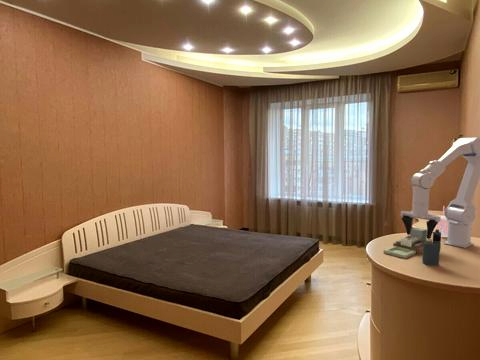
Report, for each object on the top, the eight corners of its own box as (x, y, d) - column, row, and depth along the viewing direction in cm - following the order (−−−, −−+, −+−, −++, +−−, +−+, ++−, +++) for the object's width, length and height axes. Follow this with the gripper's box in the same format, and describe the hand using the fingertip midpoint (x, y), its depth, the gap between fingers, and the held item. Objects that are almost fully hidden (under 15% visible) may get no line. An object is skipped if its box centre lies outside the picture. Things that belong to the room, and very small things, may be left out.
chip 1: (405, 243, 129) (405, 236, 129) (416, 245, 126) (416, 239, 126) (400, 244, 126) (401, 238, 126) (411, 247, 123) (411, 240, 123)
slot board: (409, 241, 138) (410, 235, 137) (434, 247, 130) (434, 239, 130) (393, 248, 129) (393, 240, 128) (418, 254, 121) (418, 246, 121)
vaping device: (440, 265, 109) (443, 230, 108) (423, 264, 110) (425, 230, 109) (437, 263, 112) (439, 229, 110) (421, 262, 113) (423, 228, 112)
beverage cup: (445, 238, 143) (447, 207, 141) (431, 235, 148) (433, 205, 147) (452, 237, 146) (454, 206, 144) (438, 234, 151) (440, 204, 150)
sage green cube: (414, 239, 134) (415, 227, 134) (426, 241, 131) (426, 229, 131) (410, 241, 132) (410, 228, 131) (421, 243, 128) (422, 231, 128)
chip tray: (394, 248, 128) (394, 245, 128) (415, 253, 122) (416, 250, 121) (383, 253, 122) (383, 249, 122) (405, 258, 116) (405, 255, 116)
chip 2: (410, 241, 132) (410, 235, 131) (420, 243, 128) (421, 237, 128) (405, 242, 129) (406, 236, 129) (416, 245, 126) (416, 238, 126)
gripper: (397, 201, 133) (396, 234, 135) (436, 206, 122) (434, 241, 123) (405, 200, 138) (404, 231, 139) (443, 204, 126) (441, 238, 128)
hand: (418, 236), depth 131 cm, fingers open, 7 cm apart
